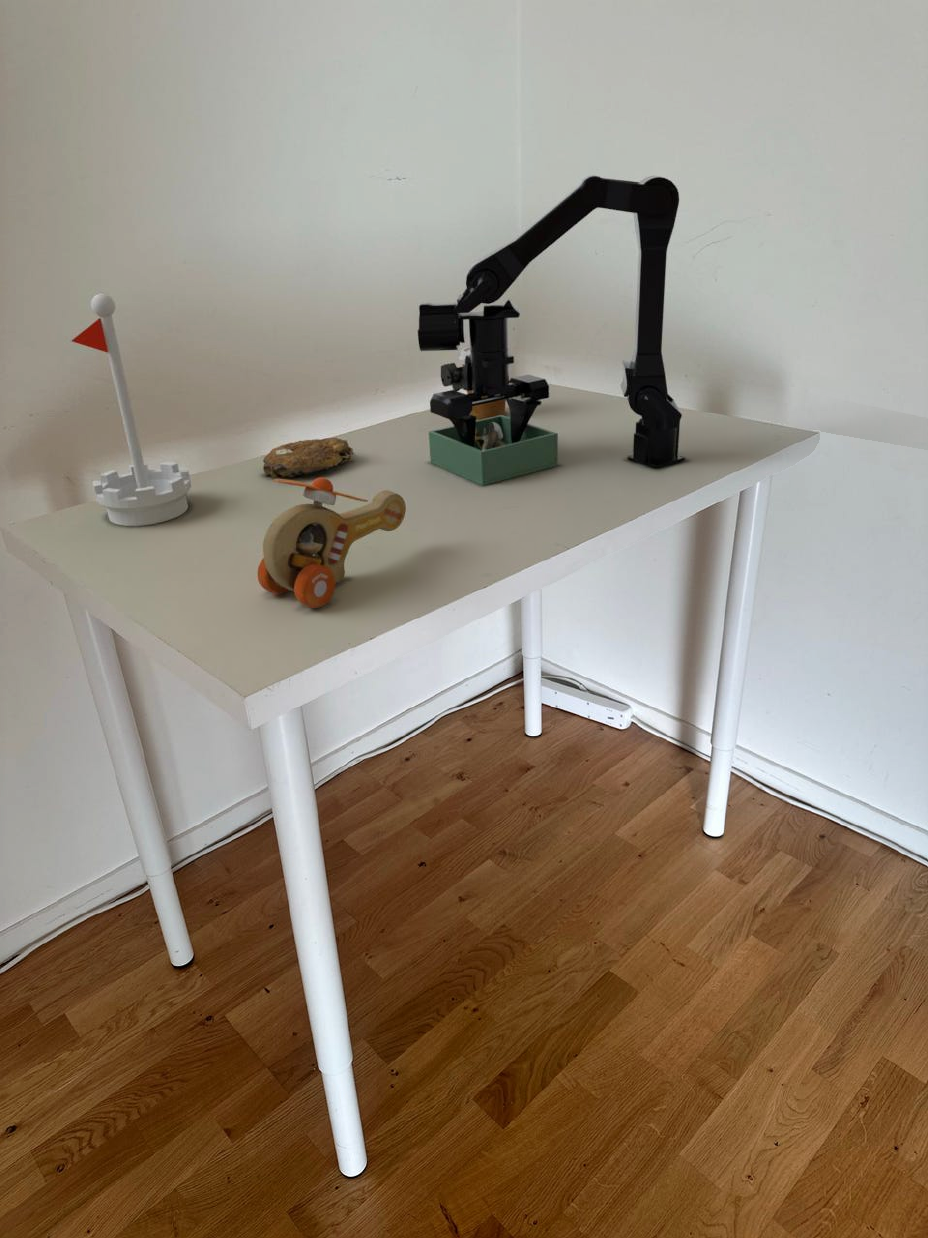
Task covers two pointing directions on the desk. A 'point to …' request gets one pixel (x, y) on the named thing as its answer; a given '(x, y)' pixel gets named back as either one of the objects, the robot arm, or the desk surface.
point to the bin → (494, 452)
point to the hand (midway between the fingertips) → (492, 450)
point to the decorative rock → (306, 457)
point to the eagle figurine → (490, 437)
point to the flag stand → (132, 446)
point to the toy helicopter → (320, 541)
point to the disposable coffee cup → (487, 408)
